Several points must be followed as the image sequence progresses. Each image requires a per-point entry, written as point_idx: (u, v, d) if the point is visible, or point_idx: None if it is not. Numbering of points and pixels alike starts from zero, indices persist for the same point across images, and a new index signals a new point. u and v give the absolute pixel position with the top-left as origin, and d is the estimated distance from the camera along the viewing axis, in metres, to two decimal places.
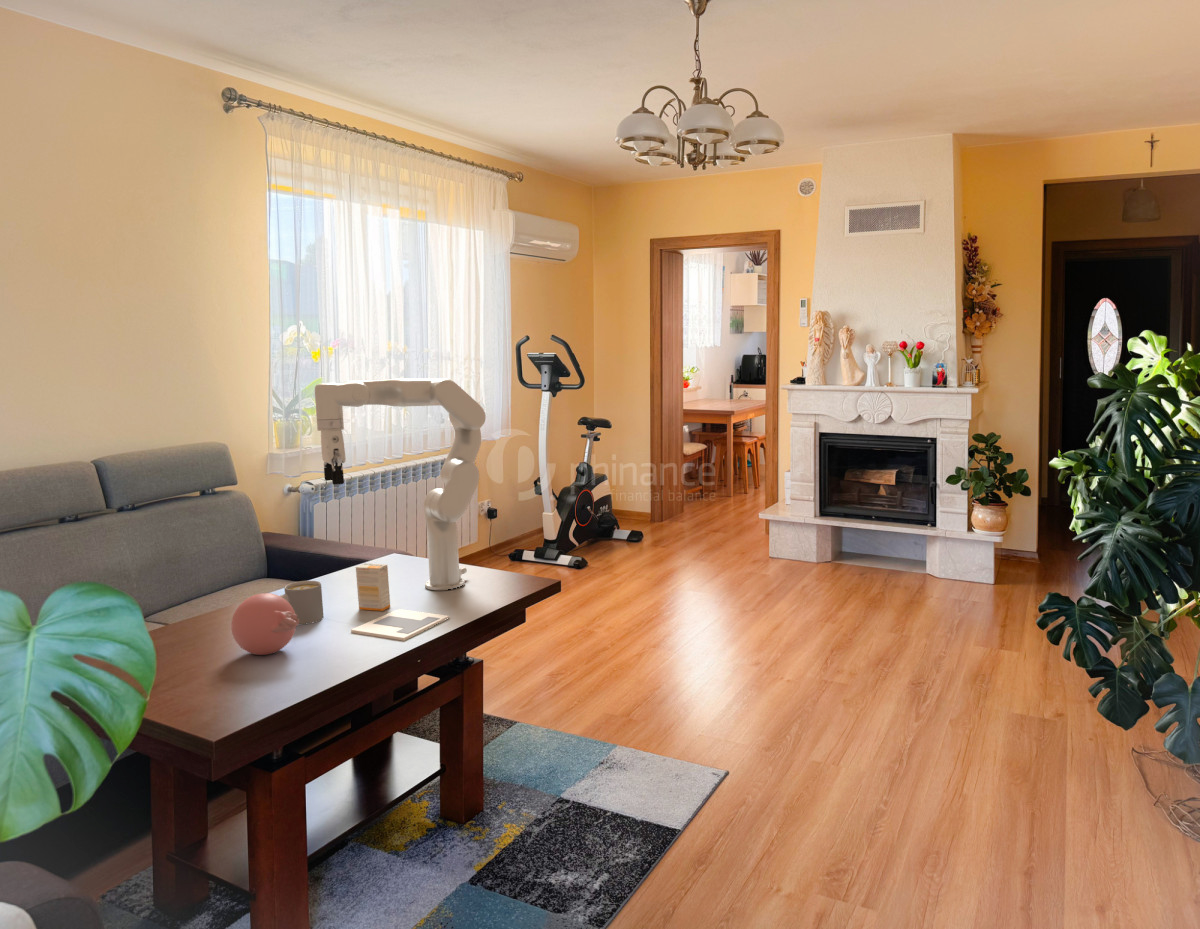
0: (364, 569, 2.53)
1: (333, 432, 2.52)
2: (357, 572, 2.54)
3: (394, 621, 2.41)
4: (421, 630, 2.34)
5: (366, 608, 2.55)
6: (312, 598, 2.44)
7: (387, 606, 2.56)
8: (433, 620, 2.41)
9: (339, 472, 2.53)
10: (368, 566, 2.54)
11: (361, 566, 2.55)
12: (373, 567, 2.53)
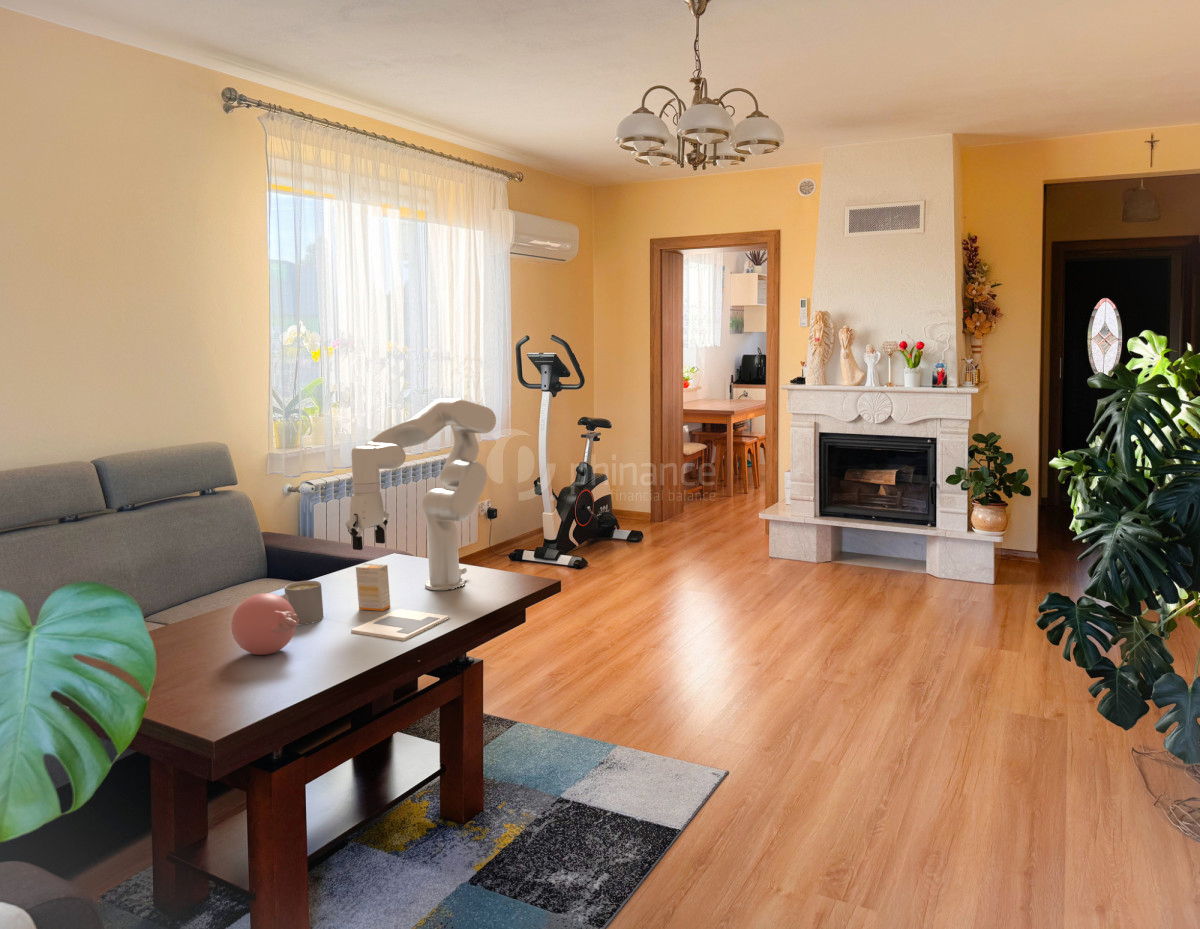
0: (364, 569, 2.53)
1: None
2: (357, 572, 2.54)
3: (394, 621, 2.41)
4: (421, 630, 2.34)
5: (366, 608, 2.55)
6: (312, 598, 2.44)
7: (387, 606, 2.56)
8: (433, 620, 2.41)
9: None
10: (368, 566, 2.54)
11: (361, 566, 2.55)
12: (373, 567, 2.53)
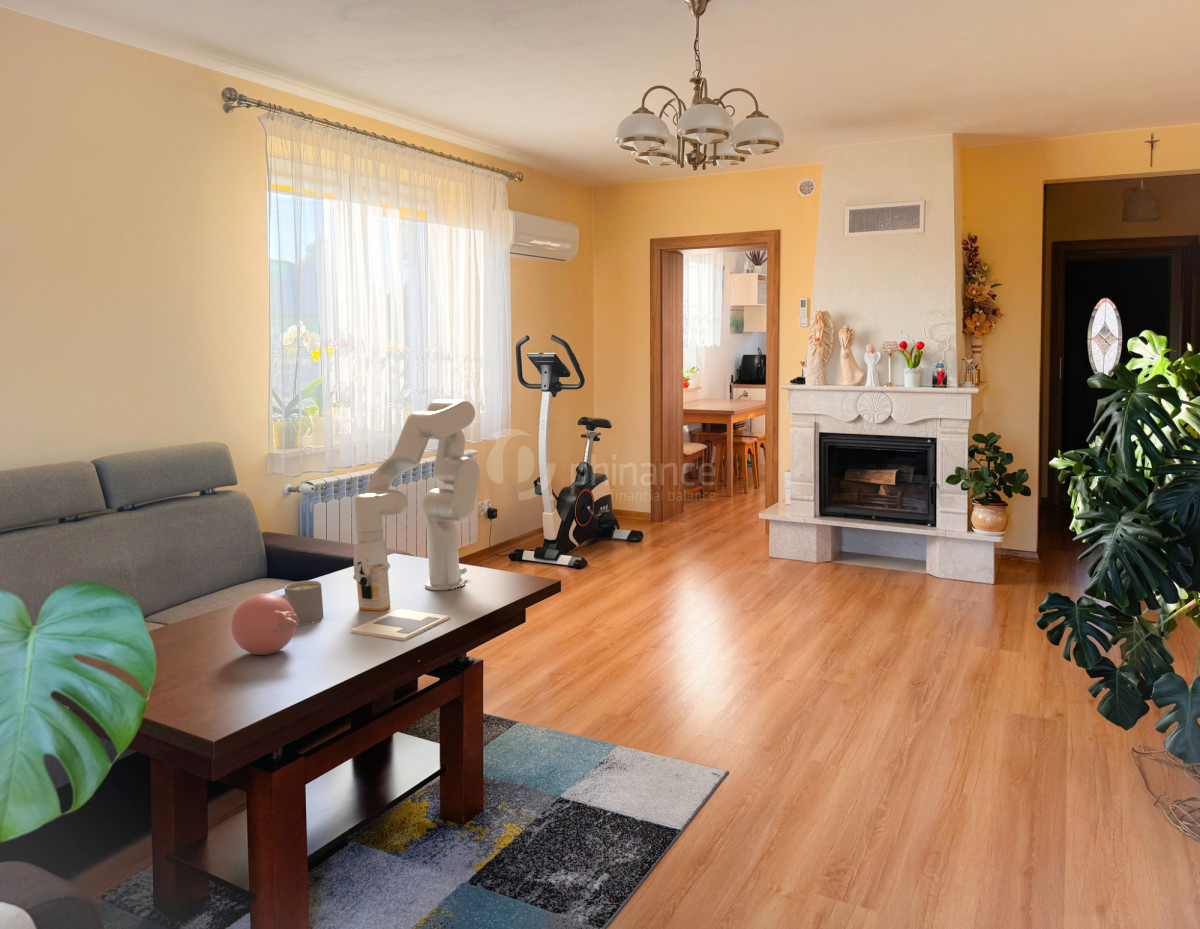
0: None
1: None
2: None
3: (394, 621, 2.41)
4: (421, 630, 2.34)
5: (366, 608, 2.55)
6: (312, 598, 2.44)
7: (387, 606, 2.56)
8: (433, 620, 2.41)
9: None
10: None
11: None
12: None
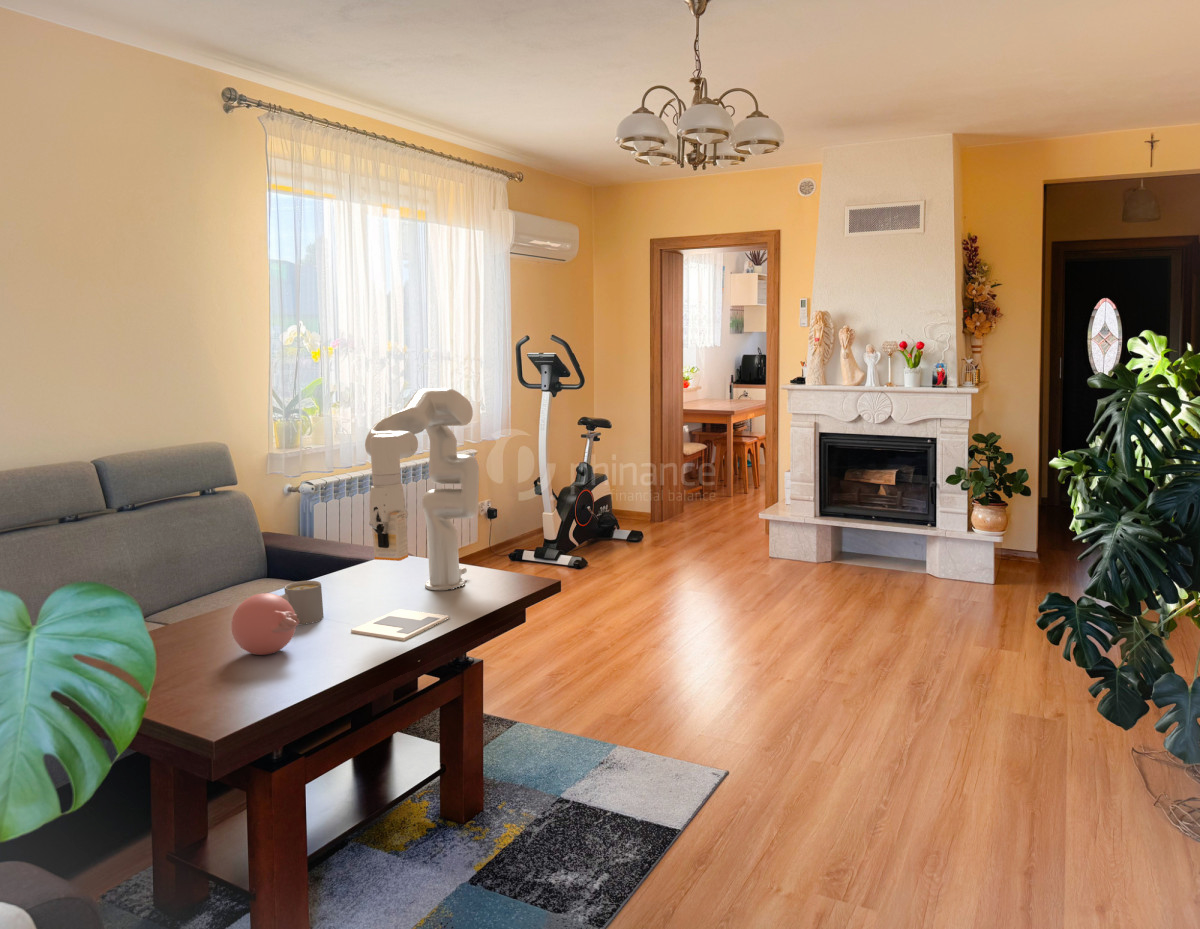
0: None
1: None
2: None
3: (394, 621, 2.41)
4: (421, 630, 2.34)
5: (382, 558, 2.36)
6: (312, 598, 2.44)
7: (405, 556, 2.37)
8: (433, 620, 2.41)
9: None
10: None
11: None
12: None
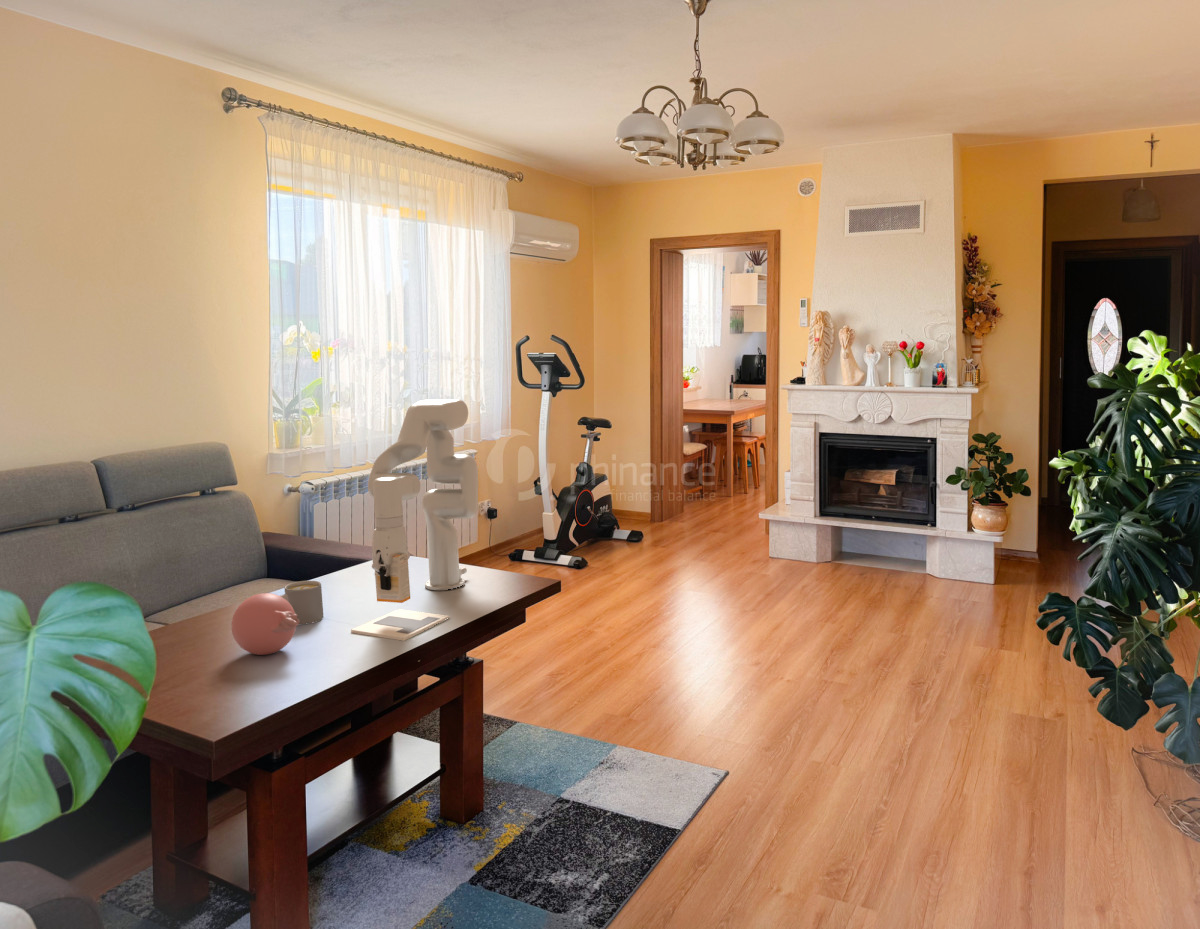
0: None
1: None
2: None
3: (394, 621, 2.41)
4: (421, 630, 2.34)
5: (385, 600, 2.38)
6: (312, 598, 2.44)
7: (407, 598, 2.39)
8: (433, 620, 2.41)
9: None
10: None
11: None
12: None
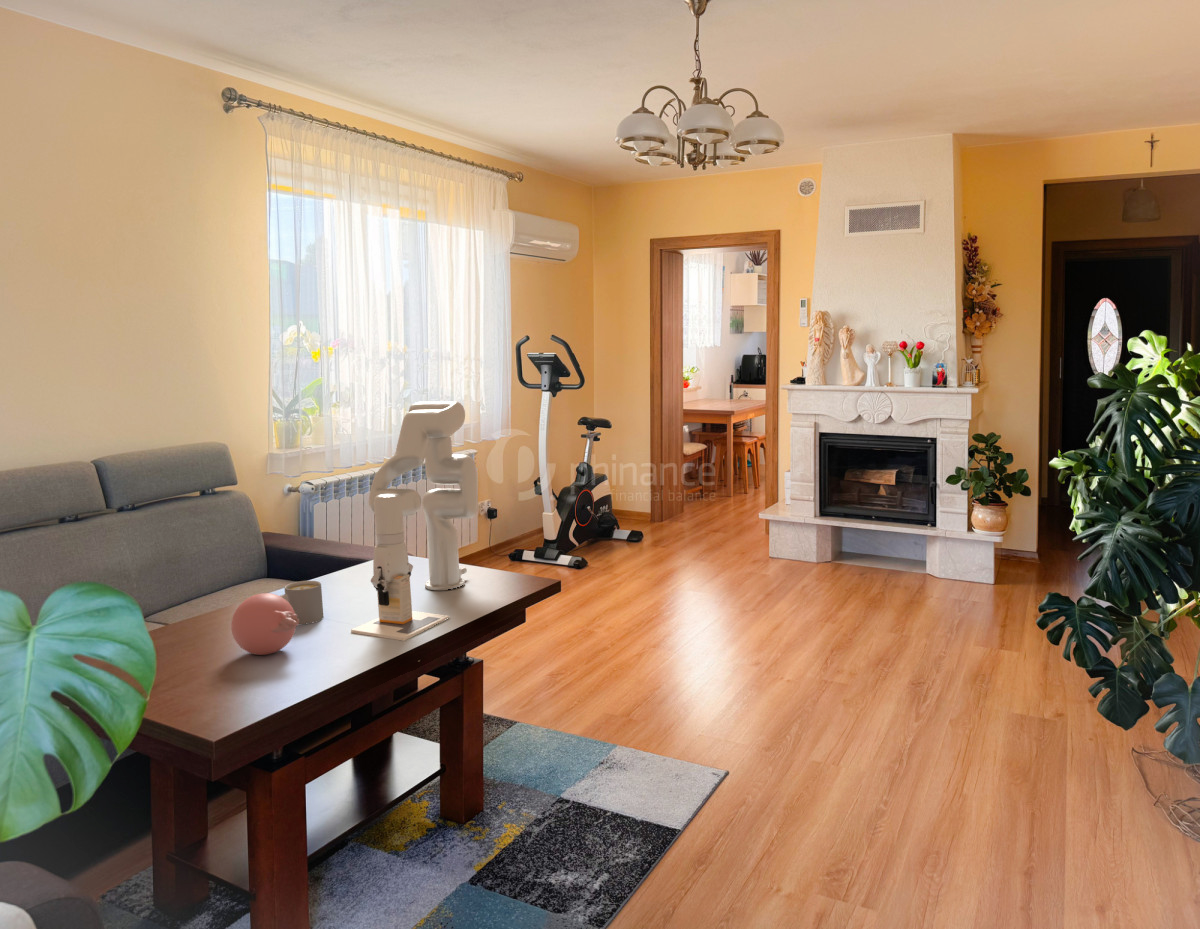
0: None
1: None
2: None
3: None
4: (421, 630, 2.34)
5: (387, 621, 2.39)
6: (312, 598, 2.44)
7: (409, 619, 2.40)
8: (433, 620, 2.41)
9: None
10: None
11: None
12: None
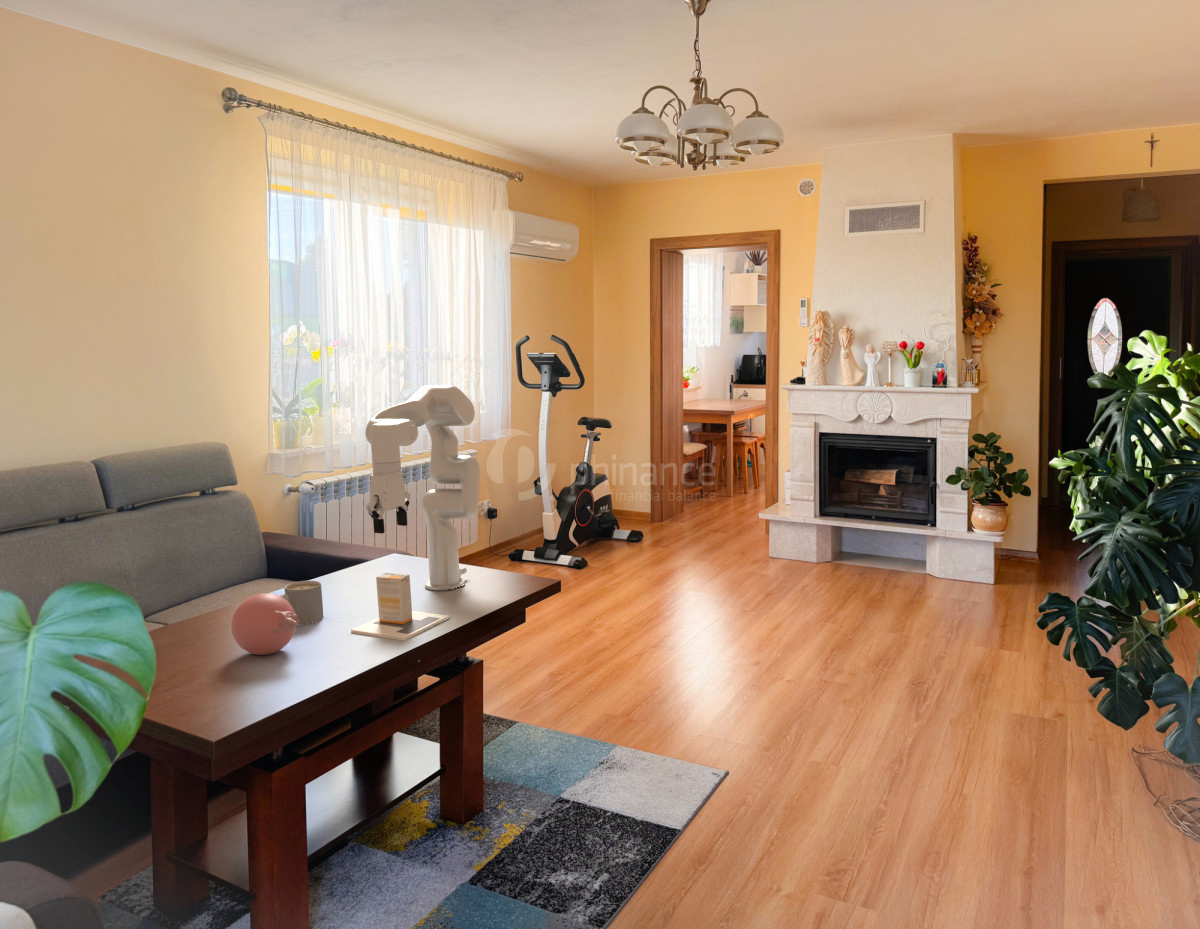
0: (385, 579, 2.38)
1: None
2: (377, 582, 2.39)
3: None
4: (421, 630, 2.34)
5: (387, 621, 2.39)
6: (312, 598, 2.44)
7: (409, 619, 2.40)
8: (433, 620, 2.41)
9: None
10: (389, 576, 2.38)
11: (382, 576, 2.39)
12: (394, 577, 2.37)
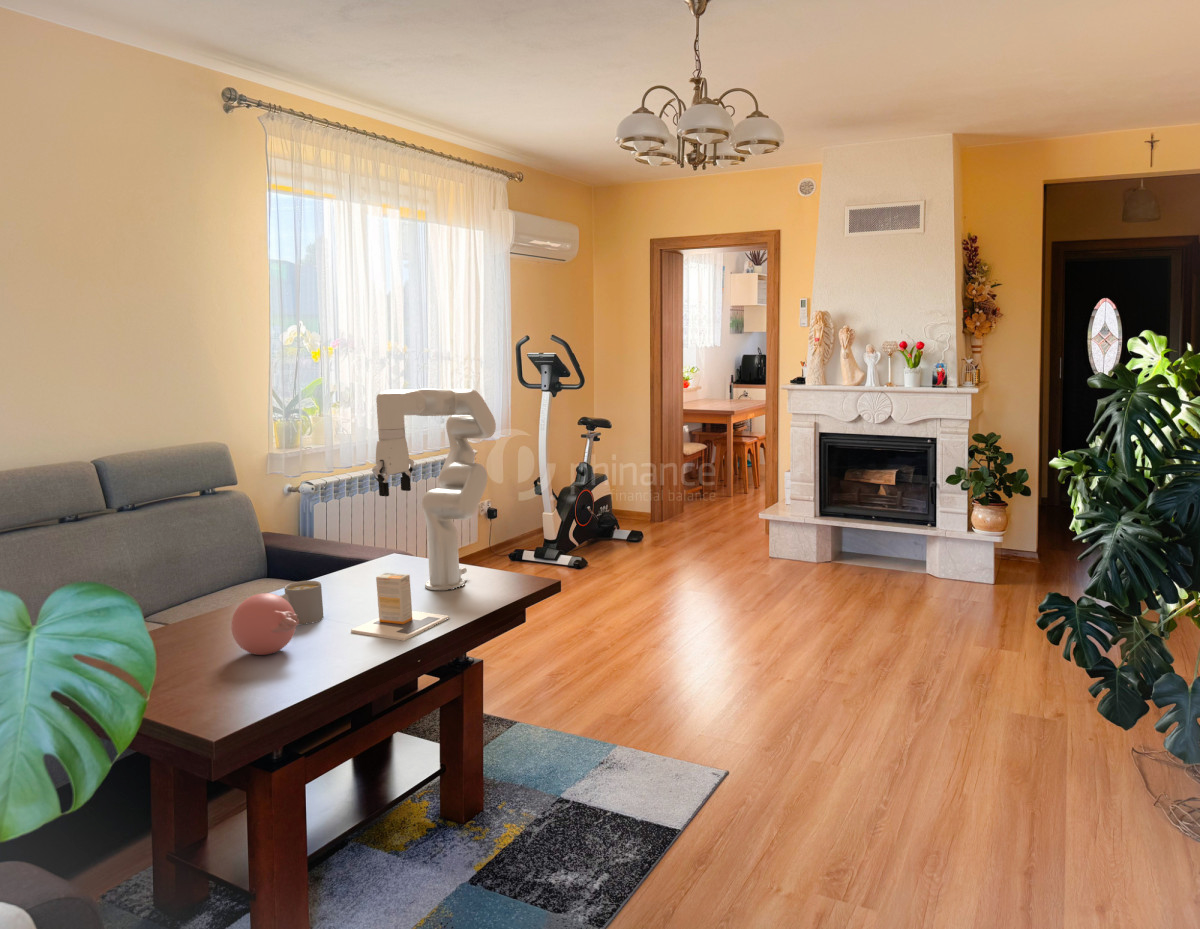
0: (385, 579, 2.38)
1: None
2: (377, 582, 2.39)
3: None
4: (421, 630, 2.34)
5: (387, 621, 2.39)
6: (312, 598, 2.44)
7: (409, 619, 2.40)
8: (433, 620, 2.41)
9: None
10: (389, 576, 2.38)
11: (382, 576, 2.39)
12: (394, 577, 2.37)
